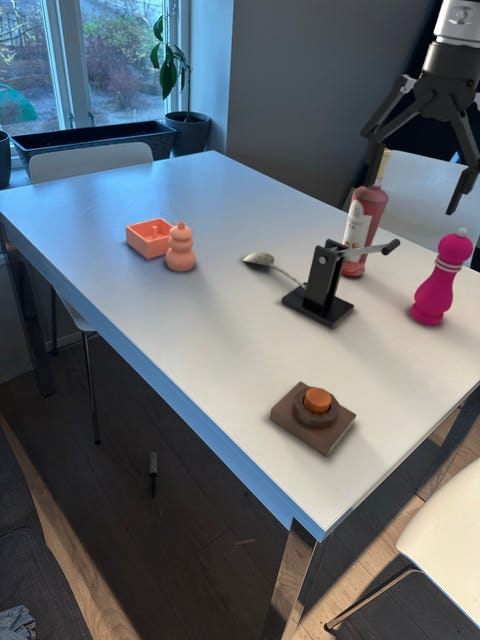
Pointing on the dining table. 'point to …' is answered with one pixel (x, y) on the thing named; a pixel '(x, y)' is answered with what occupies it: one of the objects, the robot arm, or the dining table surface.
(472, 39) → the robot arm
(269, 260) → the soupspoon
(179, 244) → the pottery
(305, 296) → the lever bracket
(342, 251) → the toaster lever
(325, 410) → the button
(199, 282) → the dining table surface
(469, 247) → the pepper mill
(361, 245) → the liquor
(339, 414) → the button box
